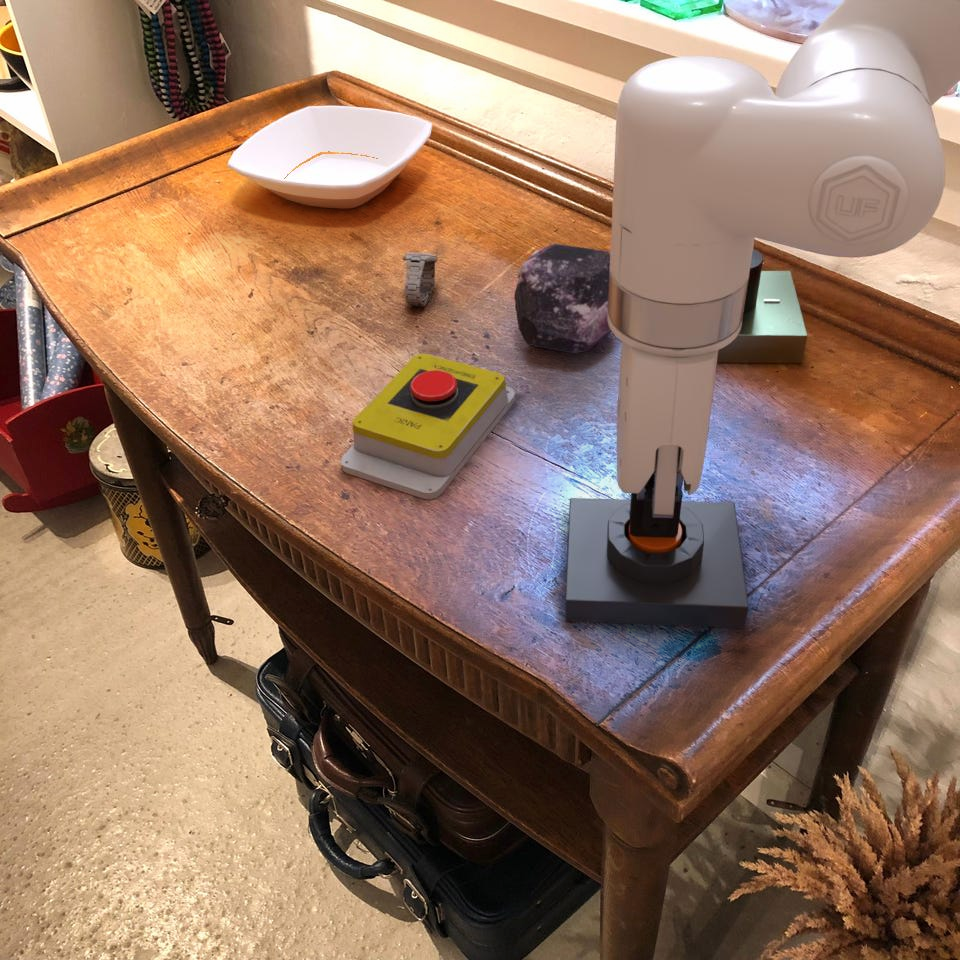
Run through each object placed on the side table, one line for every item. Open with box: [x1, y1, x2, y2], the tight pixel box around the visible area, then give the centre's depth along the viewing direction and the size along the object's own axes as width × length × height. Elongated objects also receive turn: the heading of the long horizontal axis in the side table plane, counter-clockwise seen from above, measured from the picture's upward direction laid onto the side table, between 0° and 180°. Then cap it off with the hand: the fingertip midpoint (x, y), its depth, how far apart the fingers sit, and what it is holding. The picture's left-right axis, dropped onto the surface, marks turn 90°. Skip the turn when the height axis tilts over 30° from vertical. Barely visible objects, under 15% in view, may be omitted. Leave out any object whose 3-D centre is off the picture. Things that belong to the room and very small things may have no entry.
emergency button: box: [340, 353, 517, 500], centre depth 81 cm, size 9×4×15 cm
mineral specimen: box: [513, 243, 612, 354], centre depth 88 cm, size 10×10×10 cm
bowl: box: [226, 105, 433, 210], centre depth 117 cm, size 22×22×5 cm
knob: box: [743, 248, 764, 313], centre depth 87 cm, size 4×4×5 cm
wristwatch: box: [402, 252, 438, 307], centre depth 96 cm, size 4×6×5 cm, turn 168°
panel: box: [717, 270, 808, 365], centre depth 90 cm, size 14×11×3 cm
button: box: [628, 523, 682, 553], centre depth 67 cm, size 4×4×2 cm
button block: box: [564, 497, 750, 629], centre depth 68 cm, size 12×10×4 cm
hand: (652, 528), depth 66 cm, fingers closed
